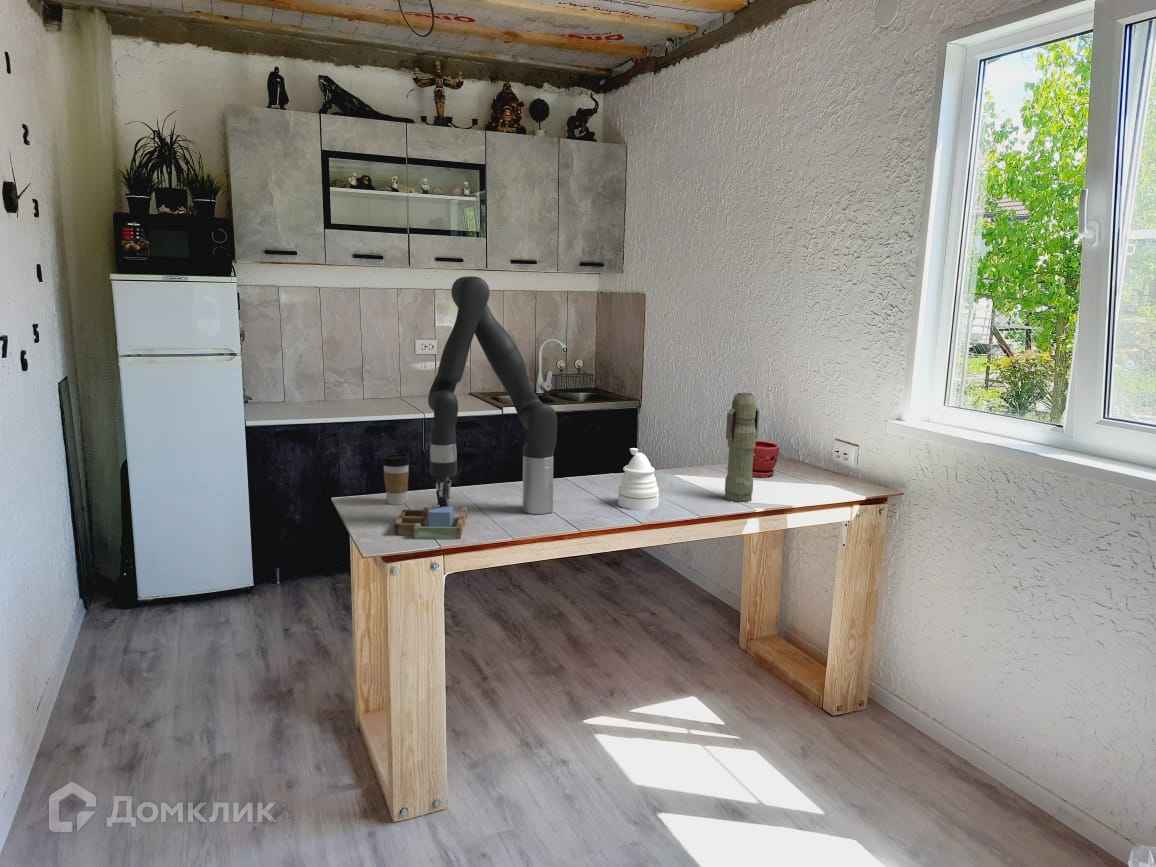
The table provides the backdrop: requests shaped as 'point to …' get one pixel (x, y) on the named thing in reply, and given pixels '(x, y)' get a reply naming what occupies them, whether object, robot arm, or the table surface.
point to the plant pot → (764, 458)
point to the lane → (414, 525)
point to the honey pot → (638, 484)
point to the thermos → (741, 447)
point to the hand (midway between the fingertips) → (443, 517)
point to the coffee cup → (396, 477)
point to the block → (440, 516)
